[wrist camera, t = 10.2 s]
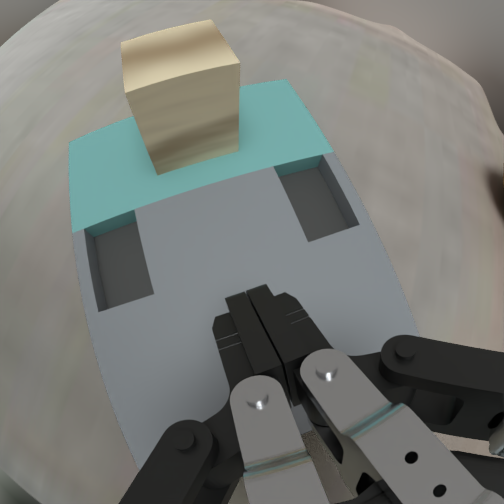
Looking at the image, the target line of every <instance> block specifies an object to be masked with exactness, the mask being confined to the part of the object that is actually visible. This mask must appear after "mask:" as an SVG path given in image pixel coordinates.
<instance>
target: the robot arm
mask: <svg viewBox="0 0 504 504" xmlns="http://www.w3.org/2000/svg"><path fill="white" fill-rule="evenodd" d="M225 301H226V304H227V307H228V310H229V312H228V313H225V314H222V315H219V316H216V317H215V319H214V323H213V326H212V331H213V334H214V337H215V341H216V344H217V348H218V351H219V354H220V358H221V361H222V364H223V368H224V371H225V374H226V377H227V380H228V384H229V388H230V393H229V398H228V400H227V402H226V404H225V405H224V407H223V408H222V409H221V410H220V411H219V412H217V413H216V414H215V415H213V416H212V417H210V418H208V419H207V420H205V421H204V422H199V421H196V420H190V419H189V420H181V421H178V422H176V423H174V424H172V425H171V426H169V427H168V428H167V429H166V430H165V432H164V433H163V435H162V436H161V438H160V440H159V441H158V443H157V444H156V446H155V448H154V449H153V451H152V452H151V454H150V455H149V457H148V459H147V460H146V462H145V463H144V465H143V467H142V468H141V470H140V471H139V473H138V474H137V476H136V478H135V479H134V481H133V482H132V484H131V485H130V487H129V488H128V490H127V492H126V493H125V495H124V496H123V498H122V499H121V501H120V502H119V504H228V502H229V500H230V498H231V496H232V494H233V492H234V490H235V488H236V486H237V484H238V481H239V479H240V477H242V476H243V478H244V484H245V488H246V492H247V496H248V500H249V504H330V503H329V501H328V498H327V496H326V493H325V491H324V488H323V486H322V483H321V481H320V479H319V476H318V474H317V471H316V469H315V466H314V464H313V461H312V459H311V457H310V455H309V453H308V452H307V450H306V448H305V445H304V443H303V440H302V438H301V435H300V433H299V430H298V427H297V425H296V422H295V420H294V417H293V414H292V412H291V409H290V408H292V407H291V402H292V404H293V406H294V407H295V406H297V405H300V404H302V406H303V408H304V410H305V412H306V414H307V420H308V423H309V425H310V426H311V428H312V430H313V431H314V433H315V434H316V436H317V437H318V439H319V440H320V442H321V443H322V445H323V446H324V448H325V449H326V451H327V452H328V454H329V455H330V457H331V458H332V460H333V461H334V463H335V464H336V466H337V468H338V470H339V472H340V475H341V477H342V479H343V481H344V483H345V484H346V486H347V487H348V489H349V490H350V492H351V493H352V495H353V496H354V499H352V500H349V501H345V502H341V503H336V504H504V459H503V458H496V457H489V456H483V455H477V454H472V453H466V452H461V451H449V450H448V449H447V447H446V446H445V445H444V444H443V443H442V442H441V441H440V440H439V439H438V438H437V437H436V436H435V434H434V433H433V432H437V433H442V434H448V435H453V436H459V437H465V438H471V439H478V440H485V441H489V444H490V445H489V452H490V453H491V454H492V455H498V456H501V457H504V353H503V352H497V351H491V350H485V349H480V348H474V347H468V346H463V345H458V344H452V343H447V342H442V341H437V340H432V339H427V338H422V337H417V336H412V335H397V336H394V337H392V338H390V339H388V340H387V341H386V342H385V343H384V345H383V347H382V349H381V352H376V353H371V354H366V355H359V356H350V355H346V354H345V353H343V352H341V351H339V350H336V349H334V348H333V347H332V346H331V345H330V344H329V342H328V341H327V339H326V338H325V337H324V335H323V334H322V333H321V331H320V330H319V328H318V327H317V326H316V324H315V323H314V322H313V320H312V319H311V318H310V317H309V315H308V313H307V312H306V311H305V309H303V307H302V305H301V304H300V302H299V301H298V300H297V298H295V297H293V296H291V295H289V294H288V293H286V292H284V293H281V294H278V295H276V296H274V295H273V294H272V292H271V291H270V289H269V287H268V286H267V284H263V285H260V286H258V287H255V288H252V289H249V290H246V293H245V291H244V292H241V293H238V294H235V295H232V296H229V297H226V298H225ZM290 400H291V402H290ZM432 431H433V432H432Z"/></svg>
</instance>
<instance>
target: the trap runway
mask: <svg viewBox="0 0 504 504" xmlns="http://www.w3.org/2000/svg"><path fill="white" fill-rule="evenodd" d="M69 193H70V210H71V223H72V234H73V243H74V251H75V259H76V266H77V272H78V279H79V284H80V290H81V295H82V301H83V306H84V310H85V315H86V319H87V324H88V328H89V332H90V336H91V340H92V344H93V348H94V351H95V355H96V359H97V362H98V365H99V369H100V372H101V375H102V378H103V382H104V385H105V388H106V391H107V394H108V396H109V399H110V402H111V405H112V408H113V410H114V413H115V416H116V418H117V421H118V423H119V426H120V428H121V431H122V433H123V436H124V438H125V440H126V443H127V445H128V447H129V449H130V452H131V454H132V456H133V458H134V460H135V462H136V464H137V466H138V468H139V470H141V468H142V467H143V465H144V463H145V462H146V460H147V459H148V457H149V455H150V454H151V452H152V451H153V449H154V448H155V446H156V444H157V443H158V441H159V440H160V438H161V436H162V435H163V433H164V432H165V430H166V429H167V428H168V427H169V426H171V425H172V424H174V423H176V422H178V421H181V420H189V419H190V420H196V421H199V422H204V421H205V420H207V419H208V418H210V417H212V416H213V415H215V414H216V413H217V412H219V411H220V410H221V409H222V408H223V407H224V405H225V404H226V402H227V400H228V398H229V393H230V388H229V384H228V380H227V377H226V374H225V371H224V368H223V364H222V361H221V358H220V354H219V351H218V348H217V344H216V341H215V337H214V334H213V331H212V326H213V323H214V319H215V317H216V316H219V315H222V314H225V313H228V312H229V310H228V307H227V304H226V301H225V298H226V297H229V296H232V295H235V294H238V293H241V292H244V291H245V293H246V290H249V289H252V288H255V287H258V286H260V285H263V284H267V286H268V287H269V289H270V291H271V292H272V294H273V295H274V296H276V295H278V294H281V293H284V292H286V293H288V294H289V295H291V296H293V297H295V298H297V300H298V301H299V302H300V304H301V305H302V307H303V309H305V311H306V312H307V313H308V315H309V317H310V318H311V319H312V320H313V322H314V323H315V324H316V326H317V327H318V328H319V330H320V331H321V333H322V334H323V335H324V337H325V338H326V339H327V341H328V342H329V344H330V345H331V346H332V347H333V348H334V349H336V350H339V351H341V352H343V353H345V354H346V355H350V356H359V355H366V354H371V353H376V352H381V349H382V347H383V345H384V343H385V342H386V341H387V340H388V339H390V338H392V337H394V336H397V335H412V336H417V337H420V336H419V333H418V330H417V327H416V324H415V321H414V319H413V316H412V313H411V311H410V308H409V305H408V303H407V300H406V298H405V295H404V293H403V290H402V288H401V285H400V283H399V280H398V278H397V275H396V273H395V271H394V268H393V266H392V264H391V262H390V259H389V257H388V255H387V253H386V250H385V248H384V246H383V244H382V242H381V240H380V237H379V235H378V233H377V231H376V229H375V227H374V225H373V223H372V221H371V219H370V217H369V215H368V213H367V211H366V209H365V207H364V205H363V203H362V201H361V199H360V197H359V195H358V194H357V192H356V190H355V188H354V186H353V184H352V182H351V181H350V179H349V177H348V175H347V173H346V172H345V170H344V168H343V166H342V165H341V163H340V161H339V159H338V158H337V156H336V154H335V153H334V151H333V149H332V148H331V146H330V144H329V143H328V141H327V139H326V138H325V136H324V135H323V133H322V131H321V130H320V128H319V127H318V125H317V123H316V122H315V120H314V119H313V117H312V116H311V114H310V113H309V111H308V110H307V108H306V107H305V105H304V104H303V102H302V101H301V99H300V98H299V96H298V95H297V93H296V92H295V91H294V89H293V88H292V86H291V85H290V84H289V82H288V81H287V79H283V80H277V81H270V82H264V83H258V84H252V85H247V86H242V87H240V90H239V149H238V152H234V153H230V154H227V155H223V156H219V157H216V158H212V159H209V160H205V161H202V162H199V163H195V164H192V165H189V166H186V167H182V168H179V169H176V170H173V171H170V172H167V173H164V174H161V175H157V173H156V171H155V168H154V166H153V163H152V161H151V159H150V156H149V154H148V151H147V149H146V146H145V144H144V141H143V139H142V136H141V134H140V131H139V129H138V126H137V123H136V121H135V118H134V116H132V117H129V118H127V119H124V120H121V121H119V122H116V123H113V124H111V125H108V126H106V127H103V128H101V129H98V130H96V131H94V132H91V133H89V134H87V135H84V136H82V137H80V138H78V139H75V140H73V141H71V142H69ZM290 402H291V400H290ZM291 407H292V408H290V409H291V412H292V414H293V417H294V420H295V422H296V425H297V427H298V430H299V433H300V435H302V434H304V433H307V432H309V431H312V428H311V426H310V425H309V423H308V420H307V414H306V412H305V410H304V408H303V406H302V404H300V405H297V406H295V407H294V406H293V404H292V402H291Z"/></svg>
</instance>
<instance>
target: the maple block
mask: <svg viewBox="0 0 504 504" xmlns="http://www.w3.org/2000/svg"><path fill="white" fill-rule="evenodd" d="M121 55H122V67H123V78H124V88H125V94H126V97H127V100H128V102H129V105H130V108H131V110H132V113H133V116H134V118H135V121H136V123H137V126H138V129H139V131H140V134H141V136H142V139H143V141H144V144H145V146H146V149H147V151H148V154H149V156H150V159H151V161H152V163H153V166H154V168H155V171H156V173H157V175H161V174H164V173H167V172H170V171H173V170H176V169H179V168H182V167H186V166H189V165H192V164H195V163H199V162H202V161H205V160H209V159H212V158H216V157H219V156H223V155H227V154H230V153H234V152H238V149H239V90H240V62H239V60H238V59H237V57H236V56H235V54H234V53H233V51H232V49H231V48H230V46H229V45H228V43H227V42H226V40H225V39H224V37H223V36H222V35H221V33H220V32H219V30H218V29H217V27H216V26H215V24H214V23H213V21H212V20H205V21H200V22H195V23H190V24H185V25H181V26H177V27H172V28H168V29H164V30H161V31H157V32H153V33H150V34H146V35H143V36H140V37H136V38H133V39H130V40H127V41H124V42H121Z"/></svg>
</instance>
